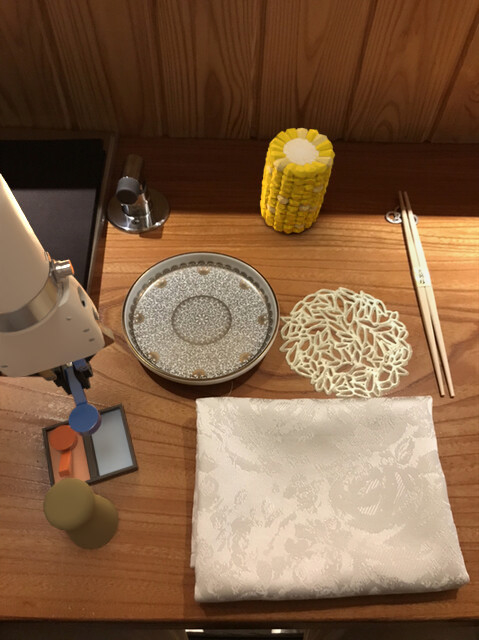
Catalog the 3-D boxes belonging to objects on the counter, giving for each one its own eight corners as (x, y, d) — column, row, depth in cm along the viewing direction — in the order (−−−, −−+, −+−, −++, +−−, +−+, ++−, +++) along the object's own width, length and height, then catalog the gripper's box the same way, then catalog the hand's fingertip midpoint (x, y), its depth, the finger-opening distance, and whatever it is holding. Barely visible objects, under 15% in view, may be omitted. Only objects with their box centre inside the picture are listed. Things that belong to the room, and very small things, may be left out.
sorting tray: (54, 497, 68) (51, 495, 67) (44, 431, 72) (41, 428, 71) (138, 469, 69) (136, 466, 68) (123, 406, 74) (121, 403, 73)
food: (272, 193, 94) (328, 215, 92) (241, 231, 86) (300, 256, 84) (288, 107, 82) (352, 130, 80) (253, 143, 75) (323, 169, 73)
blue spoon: (64, 382, 63) (53, 368, 60) (92, 374, 63) (82, 359, 60) (74, 440, 60) (64, 429, 56) (104, 431, 60) (95, 418, 57)
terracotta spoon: (85, 478, 68) (77, 470, 65) (59, 487, 68) (50, 479, 65) (76, 425, 72) (67, 415, 69) (51, 433, 72) (41, 423, 68)
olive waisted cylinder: (111, 488, 68) (86, 461, 59) (124, 537, 65) (100, 517, 56) (62, 507, 67) (29, 483, 58) (73, 557, 64) (40, 541, 55)
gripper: (94, 229, 50) (137, 332, 65) (-84, 280, 48) (4, 373, 64) (112, 296, 46) (152, 388, 62) (-81, 354, 44) (12, 433, 60)
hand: (77, 380), depth 63 cm, fingers closed on blue spoon, 1 cm apart
